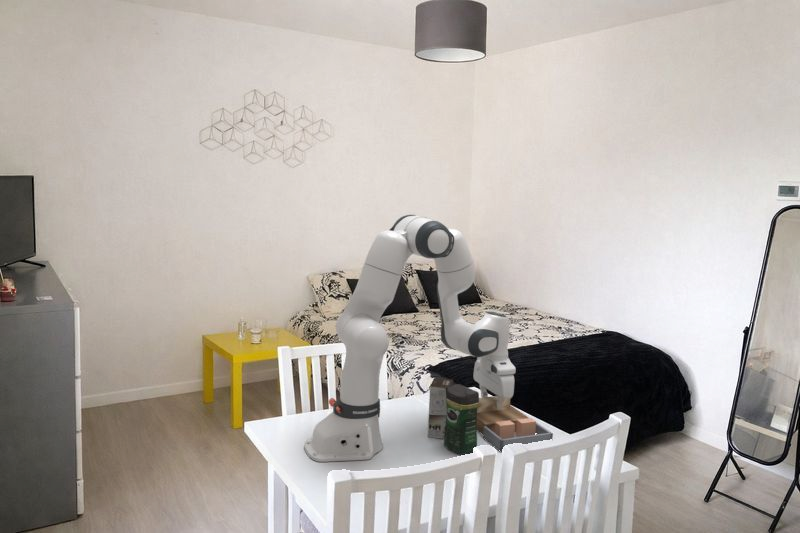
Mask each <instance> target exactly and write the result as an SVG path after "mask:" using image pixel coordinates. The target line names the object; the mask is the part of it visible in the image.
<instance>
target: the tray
mask: <svg viewBox="0 0 800 533" xmlns="http://www.w3.org/2000/svg"><path fill="white" fill-rule="evenodd" d="M535 433H537V434H536V435H529V436H522V437H518V436H516V432H514V438H507V439H502V438H500V437H499V436H498V435H496V434H495V433H494V432H493V431H491V430H490V429H489V428H488V427H486V426H484V429H483V435H482V438H483V439H484V438H485V439H486V441H487V442H488V443H489V444H490V443H491V444H492V445H491V444H490V445H491V446H493V447H494V446H495V447H494V448H495V449H496V450H498V451H499V450H500V451H501V452H500V451H499V452H500V453H503V452H502V449H503V447H504V446H505V445H508V444H513V443H522V444H528V443H532V442H538V441H543V440H550V439H552V440H553V436H554V434H553V432H552V431H550V430H548V429H547V428H546V427H544V426H542V425H541V424H540V423H538V422H536V431H535ZM485 439H484V440H485Z"/></svg>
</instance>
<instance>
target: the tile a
mask: <svg viewBox="0 0 800 533" xmlns="http://www.w3.org/2000/svg"><path fill="white" fill-rule="evenodd" d="M514 432H515V424H514V423H513V422H511V421H510V420H508V421H500V422H495V434H496V435H498V436H499V437H500V438H502V439H507V438H514Z"/></svg>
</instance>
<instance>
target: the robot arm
mask: <svg viewBox="0 0 800 533" xmlns="http://www.w3.org/2000/svg"><path fill="white" fill-rule="evenodd" d="M412 255H414V256H415V255H416V256H417V257H418V256H419V257H423V258H426V259H432V260H433V261H434V265H435V268H436V272H437V278H438V281H437V284H436V293H437V294H436V295H437V301H438V306H439V315H440V320H441V327H440V338H441V342H442V344H443V345H444V346H445V347H446V348H448V349H450V350H452V351H453V350H454V351H458V352H461V353H462V354H465V355H469V356H471V357H473V358H476V361H475V362H474V368H473V375H472V376H473V380H474V381H475V382H477V383H478V384H479V390H480V398H483V397H489V392H487V390H488V391H490V392H491V393H493V394H494V395H495V396H497V398H498V400H497V402H495V407H496V408H498V409H501V408H502V404H503V402H504V400H505V399H510V400H511V399H512V398H513V396H514V393H515V376H514V375H515V374H516V370H517V369H516V366H515V365H514V364H513V363H512V362H511V360H510V358H509V351H508V349H509V348H508V344H509V342H510V321H509V318H508V316H507V315H505V314H503V313H500V312H494V311H486V312H484V315H483V317H481V318H480V319H479V320H478V321H476V322H475V323H470V322H469V321H466V320H465V319H464V318H463V317H462V316H461V314H460V306H459V299H458V295H459V294H462V293H463V292H466V291H467V290H468V289H470V288H471V287H472V285H473V284H474V282H475V279H476V269H475V266H474V262H473V257H472V254H471V250H470V248H469V246H468V243H467V241H466V238H465V237H464V234H463V233H462V232H461V231H460V230H458V229H456V228H448V227H446V225H445V224H444V223H442V222H440V221H438V220H433V219H431V218H430V217H427V216H422V215H416V214H405V215H402V216H401V217H399V218H398V219H397V220H395V223H393V225H392V226H391V228H389V230H382V231H381V232H379V233H378V234H377V235H376V237H375V238H374V240H373V242H372V244H371V246H370V248H369V250H368V253H367V254H366V258H365V261H364V263H363V266H362V269H361V272H360V275H359V278H358V281H357V284H356V286H355V289H354V291H353V293H352V295H351V297H350V299H349V301H348V302H347V304H346V306H345V308H344V310H343V312H342V313H340V315H338V317H337V319H336V321H335V329H336V335H337V337H338V339H339V341H340V342H341V343H342V344H344V347H345V359H344V362H343V363H344V364H343V367H342V368H343V369H342V370H341V371H340V386H339V387H340V391H339V394H340V396H339V398H338V399H337V400H336V399H335V398H333V397H331V398H329V399H328V404H329V406H330V407H332V412H331V413H329V414H328V415H327V416H325V417H324V418H323V419H322V420H321V421H319V422H318V423H316V425H315V426H314V429H313V432H312V433H313V434H312V437H310V438H307V439H306V440H305V441H304V451H305V454H306V455H307V456H308V457H309V458H310V459H311V460H313V461H316V462H322V463H323V462H325V463H326V462H341V461H343V462H345V461H346V462H347V461H365V460H367V461H368V460H371V459H372V458H373V457H374V456H375V454H377V453H379V452H380V451H382V449H383V446H384V444H383V442H382V437H381V432H380V422H379V420H380V419H379V418H380V415H381V414H380V413H381V399H380V398H379V396H380V393H379V392H380V374H381V370H382V369H381V368H382V364H383V359H384V355H386V353H387V352H388V350H389V344H390V341H389V340H390V339H389V336H388V332H387V331H386V329H385V327H384V326H383V325H382V324H381V322H380V320H381V317H382V316H383V314H384V312H385V311H386V309H387V308H388V307H389V305H391V304H392V303H393V301H394V299H395V295H396V293H397V289H398V287H399V284H400V280H401V278H402V274H403V272H404V268H405V266H406V265H405V264H406V263H407V261H408V259H409V258H410V257H411V256H412Z"/></svg>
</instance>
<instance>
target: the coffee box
mask: <svg viewBox="0 0 800 533" xmlns="http://www.w3.org/2000/svg"><path fill="white" fill-rule="evenodd" d="M451 385H454V379H452V378H439V377H433V380H432V381H431V384H430V387H429V401H428V402H429V403H428V423H427V437H428V438H435V439H442V440H444V435H445V427H446V416H447V403H446V393H447V389H448V387H449V386H451Z"/></svg>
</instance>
